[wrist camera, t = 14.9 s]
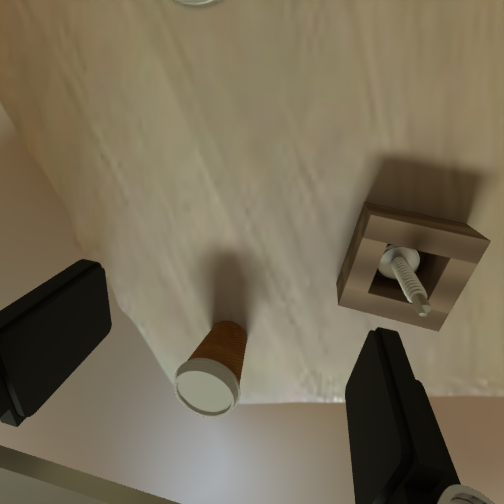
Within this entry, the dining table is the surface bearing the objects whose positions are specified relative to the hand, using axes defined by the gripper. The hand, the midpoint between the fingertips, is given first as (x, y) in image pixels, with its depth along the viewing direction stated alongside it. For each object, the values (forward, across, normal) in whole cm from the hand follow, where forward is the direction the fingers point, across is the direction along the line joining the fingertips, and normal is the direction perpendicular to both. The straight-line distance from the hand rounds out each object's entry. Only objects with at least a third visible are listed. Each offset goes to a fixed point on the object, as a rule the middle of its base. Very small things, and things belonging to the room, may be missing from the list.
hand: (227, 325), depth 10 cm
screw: (+29, -15, +8) cm, 34 cm away
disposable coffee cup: (+29, +5, +29) cm, 41 cm away
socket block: (+29, -15, +9) cm, 34 cm away
